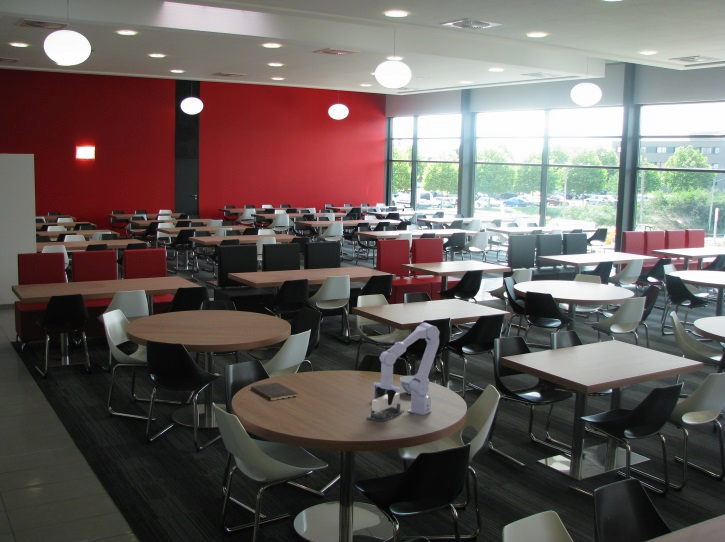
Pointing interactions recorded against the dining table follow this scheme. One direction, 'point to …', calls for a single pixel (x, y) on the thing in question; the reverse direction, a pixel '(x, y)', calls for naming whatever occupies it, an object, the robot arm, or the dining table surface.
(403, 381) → the chinaware
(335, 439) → the dining table surface
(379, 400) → the rail
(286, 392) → the hardcover book
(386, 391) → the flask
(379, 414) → the cup brackets
